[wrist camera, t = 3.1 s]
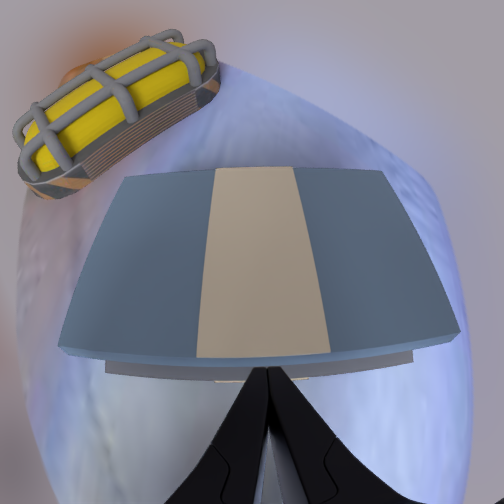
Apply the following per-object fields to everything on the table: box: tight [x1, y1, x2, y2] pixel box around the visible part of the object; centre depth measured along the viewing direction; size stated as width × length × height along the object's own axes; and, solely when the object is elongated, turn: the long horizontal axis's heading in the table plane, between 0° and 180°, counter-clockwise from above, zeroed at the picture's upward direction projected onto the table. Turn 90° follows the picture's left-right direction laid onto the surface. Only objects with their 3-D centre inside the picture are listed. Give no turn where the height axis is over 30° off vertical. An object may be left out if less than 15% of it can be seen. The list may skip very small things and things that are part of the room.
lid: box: [58, 167, 461, 367], centre depth 15 cm, size 13×18×1 cm
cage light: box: [12, 29, 220, 200], centre depth 30 cm, size 15×8×30 cm
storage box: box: [105, 350, 413, 383], centre depth 20 cm, size 13×18×7 cm
